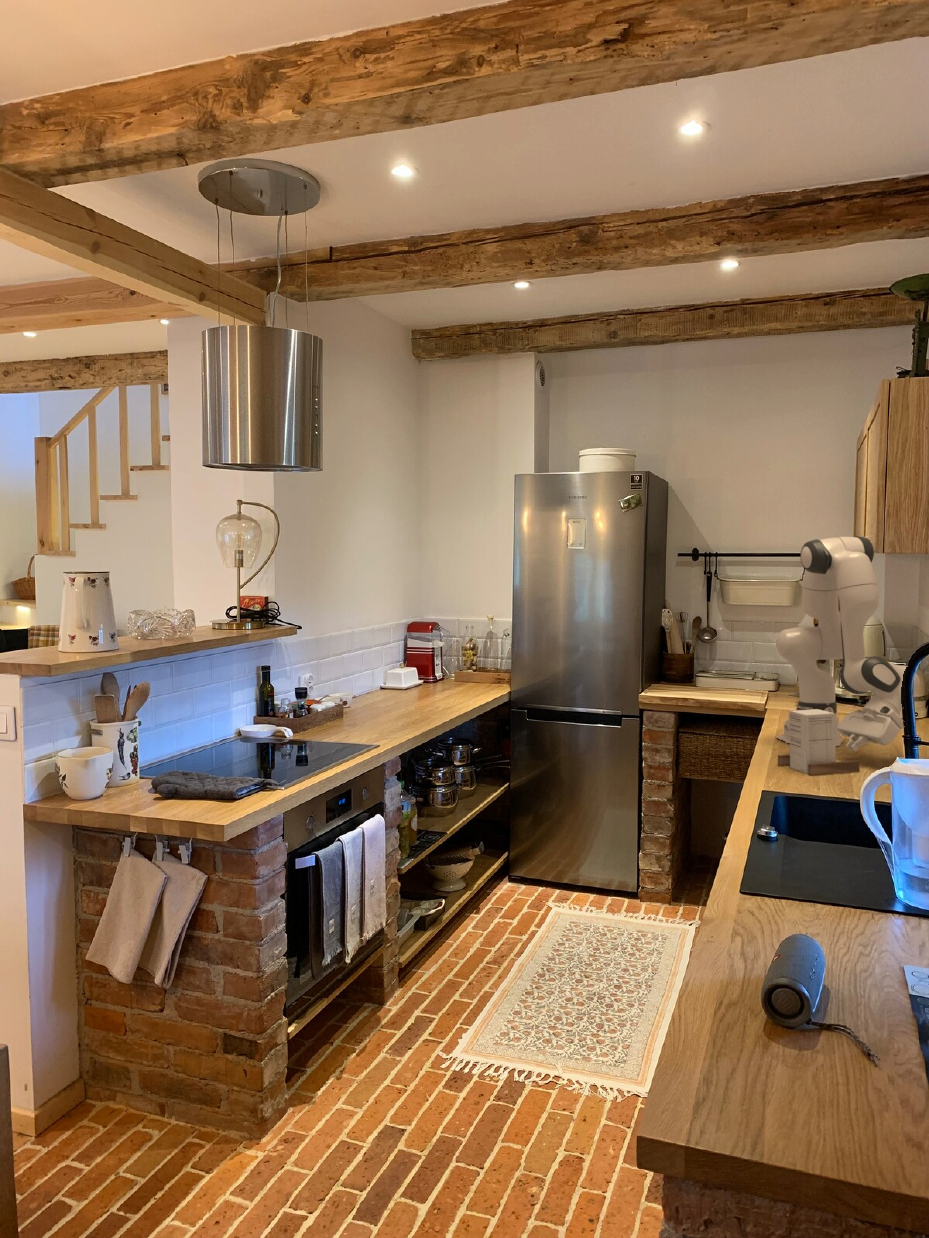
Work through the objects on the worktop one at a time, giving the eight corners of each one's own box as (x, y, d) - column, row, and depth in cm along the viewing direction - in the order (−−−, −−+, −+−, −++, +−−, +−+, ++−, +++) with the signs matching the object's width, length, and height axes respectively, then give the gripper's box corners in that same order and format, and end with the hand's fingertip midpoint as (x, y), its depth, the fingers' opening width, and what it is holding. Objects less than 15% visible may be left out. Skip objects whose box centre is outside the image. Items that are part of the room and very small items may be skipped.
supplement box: (818, 765, 263) (818, 708, 263) (837, 771, 254) (836, 712, 254) (788, 767, 262) (788, 710, 261) (805, 773, 253) (805, 714, 252)
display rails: (777, 765, 265) (777, 755, 265) (823, 761, 269) (823, 751, 269) (811, 775, 250) (811, 765, 250) (859, 771, 254) (859, 761, 254)
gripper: (849, 702, 274) (821, 736, 272) (896, 710, 254) (867, 747, 252) (861, 716, 275) (834, 749, 273) (910, 725, 255) (880, 762, 253)
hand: (850, 748), depth 262 cm, fingers closed
